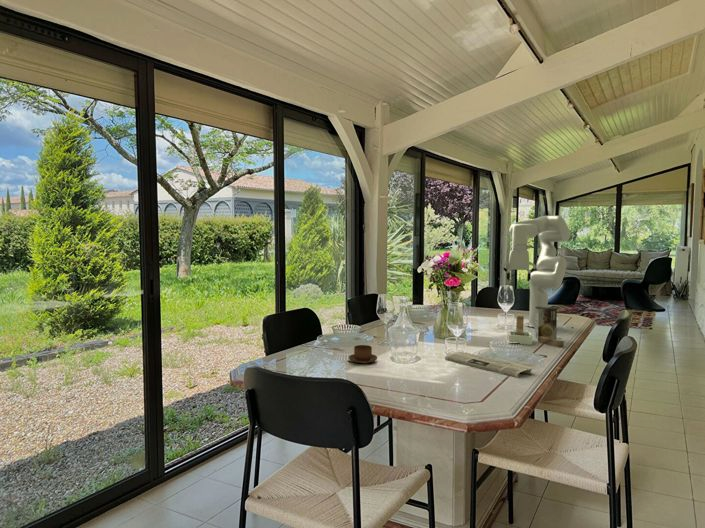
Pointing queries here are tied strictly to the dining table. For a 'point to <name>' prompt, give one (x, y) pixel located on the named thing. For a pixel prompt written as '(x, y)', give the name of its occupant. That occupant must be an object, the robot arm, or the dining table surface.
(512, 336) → the pale green square tray
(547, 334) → the coffee box
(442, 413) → the dining table surface
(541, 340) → the wooden door wedge
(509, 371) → the newspaper
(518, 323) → the wooden square peg
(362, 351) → the cup and saucer
